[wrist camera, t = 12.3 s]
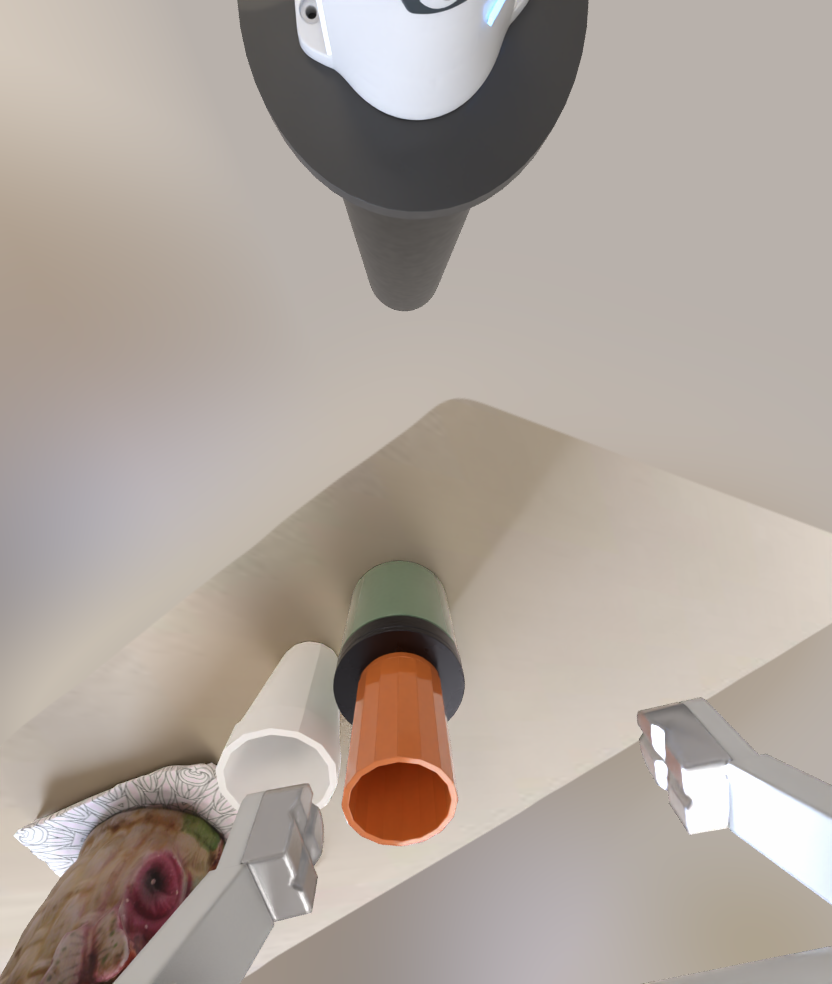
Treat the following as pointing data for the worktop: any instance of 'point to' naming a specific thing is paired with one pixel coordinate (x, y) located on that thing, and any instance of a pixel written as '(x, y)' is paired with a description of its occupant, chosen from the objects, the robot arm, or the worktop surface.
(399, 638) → the jar lid
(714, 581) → the worktop surface
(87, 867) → the cookie jar
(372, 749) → the cup
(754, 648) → the worktop surface
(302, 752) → the foam cup
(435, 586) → the jar
